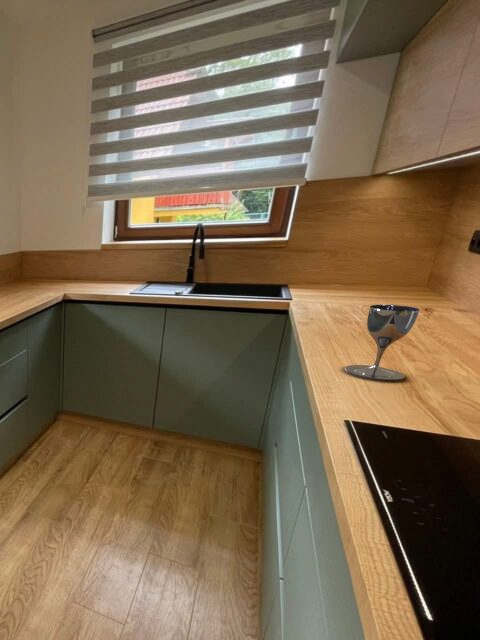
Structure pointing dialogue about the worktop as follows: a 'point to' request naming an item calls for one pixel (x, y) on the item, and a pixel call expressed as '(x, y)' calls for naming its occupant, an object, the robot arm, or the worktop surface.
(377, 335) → the wine glass
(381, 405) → the worktop surface
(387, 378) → the coaster
